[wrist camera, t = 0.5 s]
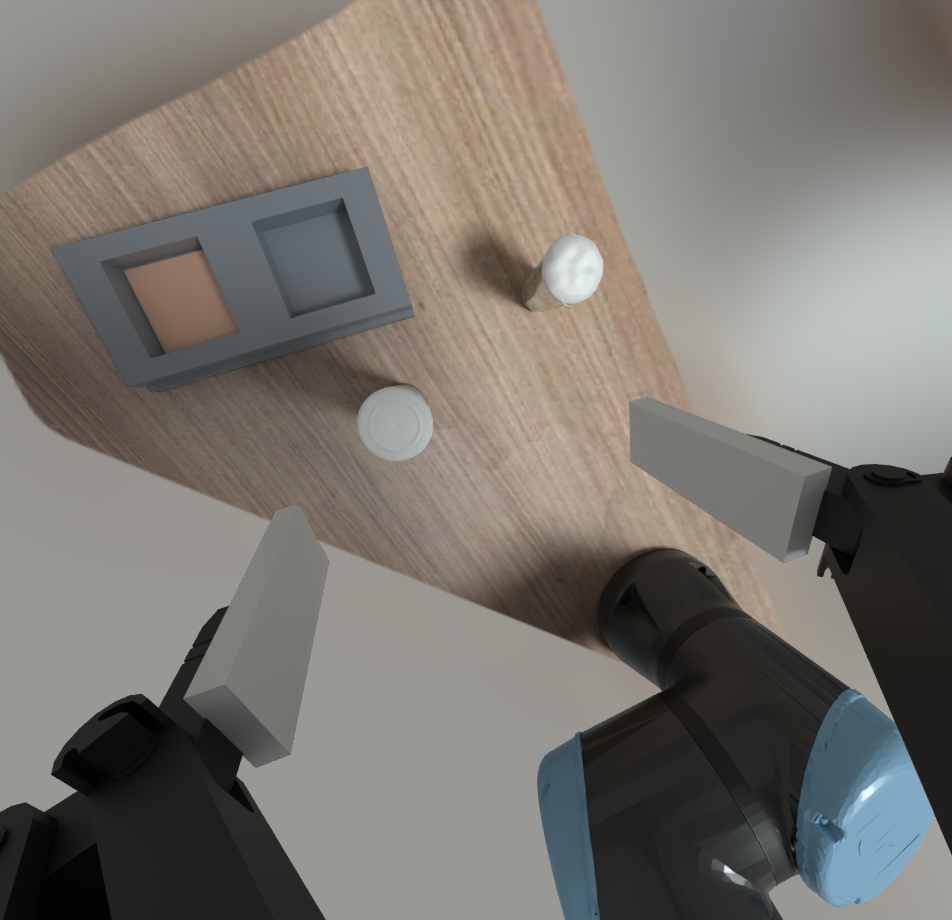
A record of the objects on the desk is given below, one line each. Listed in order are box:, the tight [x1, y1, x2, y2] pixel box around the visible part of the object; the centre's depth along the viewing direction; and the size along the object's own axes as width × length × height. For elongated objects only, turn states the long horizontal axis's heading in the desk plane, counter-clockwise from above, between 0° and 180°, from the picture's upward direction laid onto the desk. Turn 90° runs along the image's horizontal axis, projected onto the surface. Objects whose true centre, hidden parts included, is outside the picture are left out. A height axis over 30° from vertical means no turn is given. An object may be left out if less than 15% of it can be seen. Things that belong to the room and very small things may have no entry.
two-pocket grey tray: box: [51, 167, 414, 392], centre depth 29 cm, size 11×23×3 cm, turn 107°
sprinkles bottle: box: [357, 384, 433, 461], centre depth 28 cm, size 5×5×13 cm
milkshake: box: [521, 235, 603, 312], centre depth 29 cm, size 5×5×10 cm
